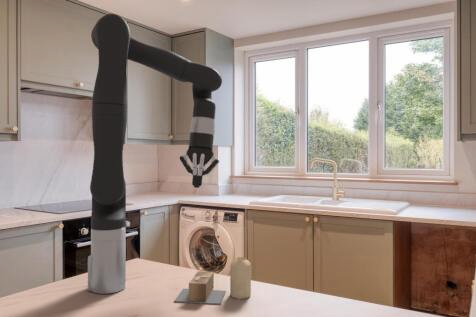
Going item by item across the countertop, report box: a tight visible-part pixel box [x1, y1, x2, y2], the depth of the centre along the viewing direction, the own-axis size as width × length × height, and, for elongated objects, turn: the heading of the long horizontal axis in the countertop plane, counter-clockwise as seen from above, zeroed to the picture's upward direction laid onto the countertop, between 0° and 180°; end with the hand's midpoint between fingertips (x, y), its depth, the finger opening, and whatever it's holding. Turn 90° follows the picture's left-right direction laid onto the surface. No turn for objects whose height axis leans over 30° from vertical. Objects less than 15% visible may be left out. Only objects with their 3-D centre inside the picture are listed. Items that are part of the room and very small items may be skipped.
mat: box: [173, 288, 227, 306], centre depth 102 cm, size 12×9×1 cm
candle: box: [229, 256, 252, 300], centre depth 104 cm, size 6×6×10 cm
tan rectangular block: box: [188, 270, 215, 301], centre depth 104 cm, size 4×5×10 cm
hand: (196, 187), depth 121 cm, fingers closed
